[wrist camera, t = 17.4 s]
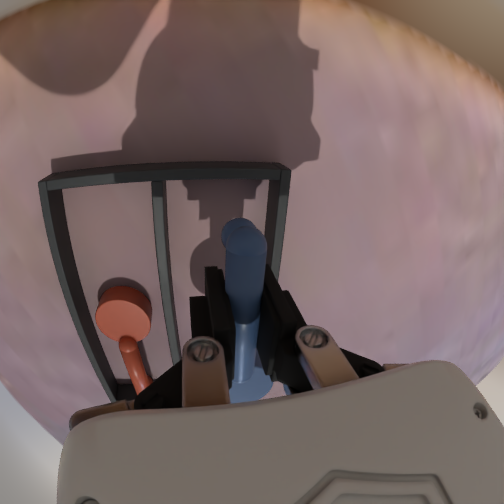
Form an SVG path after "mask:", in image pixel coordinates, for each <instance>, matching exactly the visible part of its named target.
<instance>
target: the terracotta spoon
mask: <svg viewBox="0 0 504 504" xmlns="http://www.w3.org/2000/svg"><path fill="white" fill-rule="evenodd" d="M151 318H152V307H151V304H150V302H149V300H148V299H147V297H146V296H145V295H144V294H143V293H141V292H140V291H138V290H136V289H134V288H131V287H128V286H115V287H112V288H109V289H108V290H106V291H105V292H104V293H103V295H102V296H101V298H100V301H99V304H98V307H97V310H96V314H95V319H96V323H97V325H98V327H99V329H100V330H101V331H102V332H103V333H104V334H105V335H106V336H107V337H109V338H111V339H113V340H115V341H118V342H119V349H120V351H121V354H122V357H123V360H124V363H125V365H126V368H127V370H128V373H129V376H130V378H131V381H132V383H133V386H134V388H135V390H136V393H137V395H138V394H139V393H140V392H141V391H143V390H144V389H145V388H146V387H148V386H149V385H150V384H151V383H153V380H152V378H151V377H150V376H148V375H147V374H146V371H145V368H144V365H143V362H142V358H141V355H140V352H139V348H138V345H137V342H138V341H140V340H142V339H144V338H145V337H146V336H147V335H148V333H149V331H150V328H151Z"/></svg>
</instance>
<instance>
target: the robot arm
mask: <svg viewBox="0 0 504 504" xmlns="http://www.w3.org/2000/svg"><path fill="white" fill-rule="evenodd" d="M189 298H190V316H191V331H192V339H190V340H189V341H187V342H186V343H185V345H184V346H183V350H182V359H181V360H180V361H179V362H177V363H176V364H175V365H174V366H173V367H171V368H170V369H169V370H168V371H166V372H165V373H164V374H163V375H161V376H160V377H159V378H158V379H156V380H155V381H154V382H153V383H151V384H150V385H149V386H148V387H146V388H145V389H144V390H143V391H141V392H140V393H139V394H138V395H137V396H136V398H135V400H131V401H126V399H124V400H120V401H116V402H113V403H108V404H104V405H100V406H96V407H91V408H87V409H82V410H79V411H77V412H75V413H74V414H73V415H72V416H71V418H70V421H69V428H70V432H69V434H68V436H67V438H66V440H65V443H64V446H63V449H62V453H61V458H60V465H59V472H58V483H57V484H58V485H57V504H504V427H503V425H502V423H501V422H500V420H499V419H498V417H497V416H496V414H495V413H494V411H493V410H492V408H491V407H490V405H489V404H488V403H487V401H486V399H485V398H484V397H483V395H482V394H481V393H480V391H479V390H478V389H477V387H476V386H475V385H474V384H473V382H472V381H471V380H470V379H469V378H468V377H467V375H466V374H465V373H464V372H463V371H462V370H461V369H460V368H458V367H457V366H456V365H455V364H453V363H451V362H447V361H441V360H429V361H420V362H416V363H411V364H383V366H381V365H380V364H378V363H377V362H375V361H373V360H370V359H367V358H365V357H362V356H360V355H357V354H354V353H352V352H349V351H347V350H344V349H342V348H339V346H338V345H337V343H336V342H335V340H334V339H333V337H332V336H331V335H330V333H329V332H328V331H327V330H325V329H324V328H322V327H319V326H314V325H307V324H306V322H305V321H304V319H303V317H302V315H301V313H300V311H299V309H298V308H297V306H296V304H295V302H294V300H293V298H292V296H291V295H290V293H289V291H287V290H284V291H282V289H281V287H280V285H279V283H278V282H277V280H276V278H275V276H274V274H273V272H272V270H271V268H270V266H269V264H266V265H265V275H264V284H263V292H262V301H261V311H260V320H259V329H258V338H257V347H256V348H257V351H258V354H259V357H260V361H261V364H262V367H263V370H264V373H265V375H266V376H267V375H269V376H270V379H271V382H275V381H279V382H281V383H283V384H284V385H283V386H284V390H285V393H286V395H287V396H281V397H275V398H269V399H263V400H256V401H249V402H241V403H233V404H231V401H230V394H229V390H230V389H231V388H232V380H234V370H235V345H236V326H235V321H234V317H233V313H232V309H231V305H230V301H229V296H228V294H227V293H226V291H225V280H224V275H223V271H222V269H218V268H217V266H211V267H205V296H195V297H189Z"/></svg>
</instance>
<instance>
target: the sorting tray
mask: <svg viewBox="0 0 504 504" xmlns="http://www.w3.org/2000/svg"><path fill="white" fill-rule="evenodd" d="M193 179H268V180H269V190H268V202H267V213H266V224H265V235H264V236H265V239H266V242H267V255H266V264H269V266H270V268H271V270H272V272H273V274H274V276H275V278H276V280H277V282H278V277H279V270H280V262H281V255H282V247H283V239H284V231H285V223H286V214H287V206H288V197H289V188H290V179H291V170H290V169H289V168H287V167H285V166H284V165H282V164H280V163H270V162H236V161H200V162H165V163H146V164H131V165H119V166H108V167H98V168H89V169H80V170H72V171H65V172H60V173H59V172H58V173H52V174H51V175H49V176H47V177H46V178H44V179H42V180H40V181H39V182H38V187H39V194H40V200H41V206H42V212H43V217H44V223H45V228H46V232H47V237H48V241H49V245H50V249H51V253H52V257H53V261H54V265H55V268H56V272H57V275H58V278H59V282H60V285H61V288H62V291H63V294H64V297H65V300H66V303H67V306H68V309H69V312H70V314H71V317H72V320H73V322H74V325H75V327H76V330H77V332H78V335H79V337H80V339H81V342H82V344H83V346H84V349H85V351H86V353H87V355H88V358H89V360H90V362H91V364H92V366H93V368H94V370H95V372H96V374H97V376H98V378H99V380H100V382H101V384H102V386H103V388H104V390H105V392H106V394H107V395H108V397H109V399H110V401H111V403H113V402H116V401H120V400H124V399H126V401H131V400H135V398H136V396H137V393H136V390H135V388H134V386H133V384H117V381H116V379H115V377H114V375H113V373H112V370H111V368H110V366H109V363H108V361H107V358H106V356H105V354H104V351H103V349H102V346H101V343H100V341H99V338H98V335H97V333H96V330H95V327H94V324H93V321H92V319H91V316H90V313H89V310H88V306H87V303H86V300H85V297H84V293H83V290H82V286H81V283H80V279H79V276H78V272H77V268H76V264H75V260H74V256H73V251H72V247H71V242H70V237H69V232H68V227H67V222H66V216H65V210H64V203H63V196H62V189H66V188H74V187H83V186H93V185H104V184H116V183H129V182H145V181H152V182H151V186H152V205H153V221H154V233H155V245H156V255H157V264H158V273H159V281H160V289H161V296H162V304H163V310H164V317H165V323H166V329H167V335H168V341H169V346H170V351H171V357H172V362H173V366H174V365H175V364H176V363H177V362H179V361H180V360H181V359H182V356H181V350H180V343H179V336H178V329H177V322H176V314H175V306H174V297H173V288H172V277H171V267H170V255H169V241H168V225H167V204H166V180H193Z"/></svg>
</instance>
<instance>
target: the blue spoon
mask: <svg viewBox="0 0 504 504" xmlns="http://www.w3.org/2000/svg"><path fill="white" fill-rule="evenodd" d="M221 238H222V242H223V245H224V246H225V248H226V264H225V291H226V293H227V294H228V296H229V301H230V305H231V309H232V313H233V317H234V321H235V326H236V345H235V370H234V380H232V388H231V389H230V390H229V394H230V401H231V404H233V403H241V402H249V401H256V400H259V399H260V398H262V397H263V396H265V395H266V394H267V393H268V392H269V391H270V389H271V388H272V385H273V382H271V379H270V376H269V375H267V376H266V375H265V373H264V370H263V367H262V364H261V361H260V357H259V354H258V351H257V348H256V347H257V338H258V329H259V320H260V311H261V301H262V292H263V284H264V275H265V265H266V255H267V242H266V239H265V236H264V235H263V234H262V232H261V231H259V230H258V229H256V227H255V225H254V224H253V223H252V222H251V221H249V220H247V219H245V218H235V219H232V220H230V221H229V222H227V223H226V225H225V226H224V228H223V230H222V234H221Z"/></svg>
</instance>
